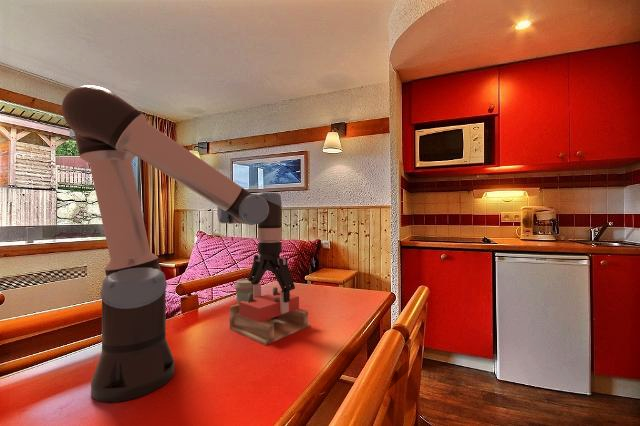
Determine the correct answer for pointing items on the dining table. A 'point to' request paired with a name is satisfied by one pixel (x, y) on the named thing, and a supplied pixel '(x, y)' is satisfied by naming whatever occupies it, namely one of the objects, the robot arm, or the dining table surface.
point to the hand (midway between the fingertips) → (270, 308)
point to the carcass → (268, 324)
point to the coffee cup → (243, 289)
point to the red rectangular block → (266, 307)
